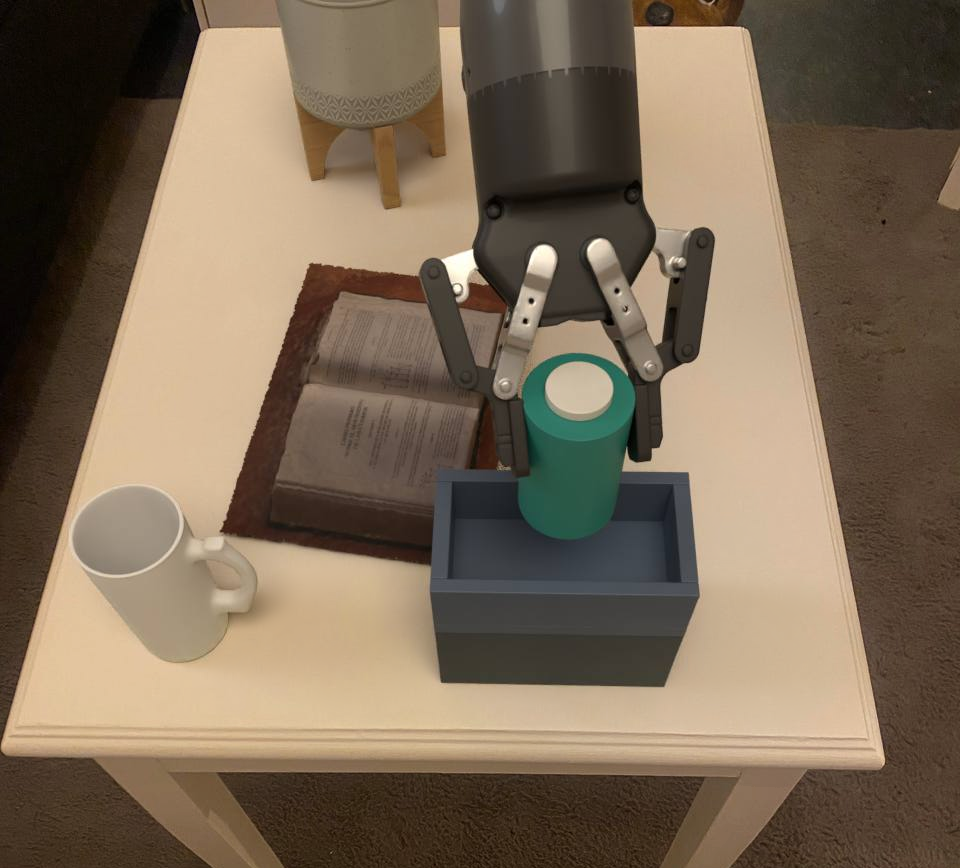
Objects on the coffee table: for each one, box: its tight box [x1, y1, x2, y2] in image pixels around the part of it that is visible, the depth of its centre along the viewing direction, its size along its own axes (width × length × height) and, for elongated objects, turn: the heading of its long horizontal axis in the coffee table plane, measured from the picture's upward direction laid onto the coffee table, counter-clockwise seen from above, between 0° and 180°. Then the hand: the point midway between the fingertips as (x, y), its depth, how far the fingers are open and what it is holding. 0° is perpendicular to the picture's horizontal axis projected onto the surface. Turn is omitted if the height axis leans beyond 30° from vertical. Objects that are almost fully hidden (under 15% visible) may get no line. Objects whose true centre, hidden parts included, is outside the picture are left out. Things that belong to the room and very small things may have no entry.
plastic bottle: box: [518, 352, 636, 539], centre depth 48 cm, size 5×5×9 cm
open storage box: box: [429, 469, 701, 688], centre depth 60 cm, size 15×9×12 cm, turn 88°
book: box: [218, 262, 508, 566], centre depth 74 cm, size 20×28×4 cm
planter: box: [275, 0, 447, 210], centre depth 81 cm, size 13×13×18 cm
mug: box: [67, 482, 259, 663], centre depth 61 cm, size 10×7×12 cm, turn 87°
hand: (580, 466), depth 47 cm, fingers closed on plastic bottle, 5 cm apart
